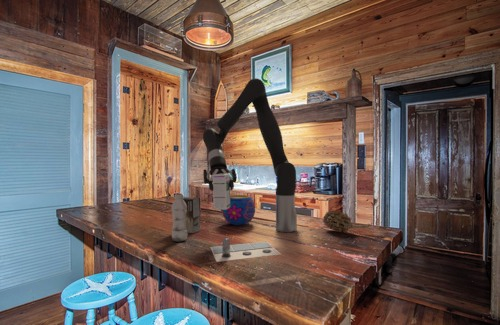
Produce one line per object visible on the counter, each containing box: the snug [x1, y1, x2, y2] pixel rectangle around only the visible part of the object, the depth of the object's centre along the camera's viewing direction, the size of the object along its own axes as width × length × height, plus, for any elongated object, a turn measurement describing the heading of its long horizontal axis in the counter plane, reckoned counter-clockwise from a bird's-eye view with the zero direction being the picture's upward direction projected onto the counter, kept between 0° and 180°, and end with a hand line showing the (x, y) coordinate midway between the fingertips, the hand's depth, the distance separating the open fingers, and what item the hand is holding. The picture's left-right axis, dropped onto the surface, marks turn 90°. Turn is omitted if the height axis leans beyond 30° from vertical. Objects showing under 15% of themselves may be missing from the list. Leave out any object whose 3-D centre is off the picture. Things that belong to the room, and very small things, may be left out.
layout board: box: [209, 241, 282, 263], centre depth 96 cm, size 23×15×1 cm, turn 107°
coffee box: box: [183, 196, 201, 234], centre depth 126 cm, size 9×6×16 cm
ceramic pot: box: [220, 194, 256, 226], centre depth 139 cm, size 18×18×15 cm
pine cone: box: [322, 209, 371, 234], centre depth 121 cm, size 22×10×10 cm, turn 55°
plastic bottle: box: [171, 193, 189, 243], centre depth 111 cm, size 6×7×20 cm
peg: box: [221, 237, 231, 257], centre depth 90 cm, size 3×3×6 cm
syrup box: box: [212, 173, 231, 211], centre depth 109 cm, size 6×6×14 cm
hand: (222, 189), depth 107 cm, fingers closed on syrup box, 7 cm apart
